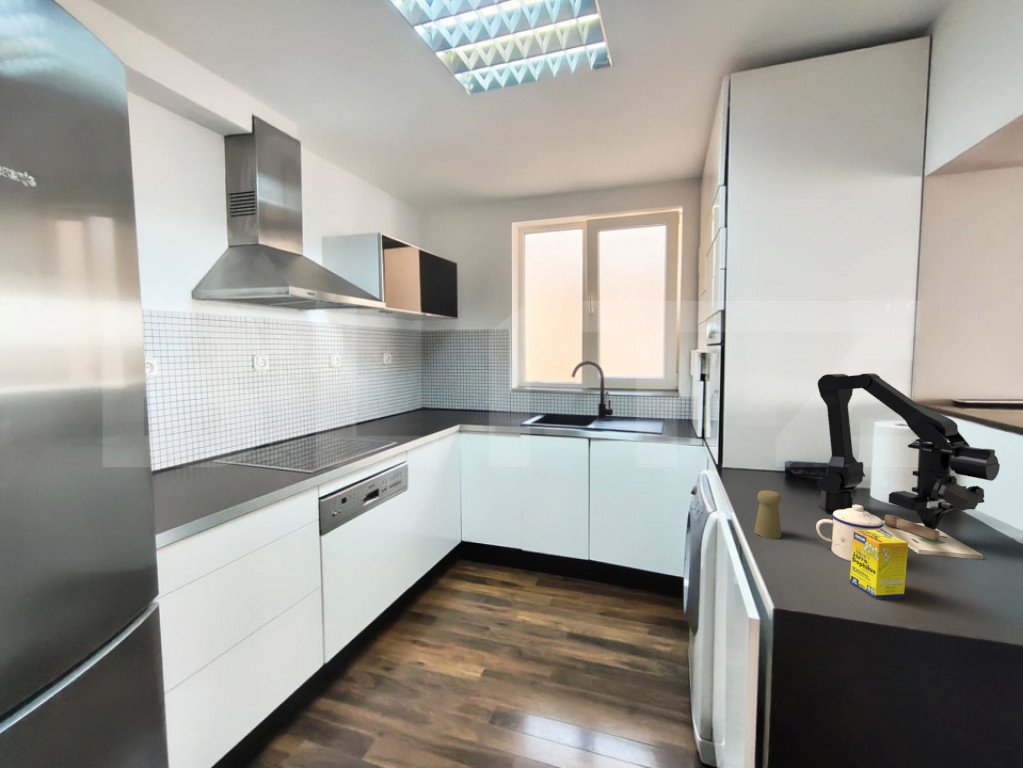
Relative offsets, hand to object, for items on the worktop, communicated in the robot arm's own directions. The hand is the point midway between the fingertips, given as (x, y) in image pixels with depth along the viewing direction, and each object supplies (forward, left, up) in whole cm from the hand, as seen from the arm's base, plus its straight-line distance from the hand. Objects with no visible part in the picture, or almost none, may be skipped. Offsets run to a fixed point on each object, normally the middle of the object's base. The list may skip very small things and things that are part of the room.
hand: (930, 532), depth 108 cm
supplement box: (-25, -29, -3) cm, 38 cm away
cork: (-37, -5, -2) cm, 37 cm away
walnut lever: (-3, +2, -1) cm, 4 cm away
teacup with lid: (-23, -13, -2) cm, 26 cm away
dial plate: (-1, 0, -2) cm, 3 cm away
